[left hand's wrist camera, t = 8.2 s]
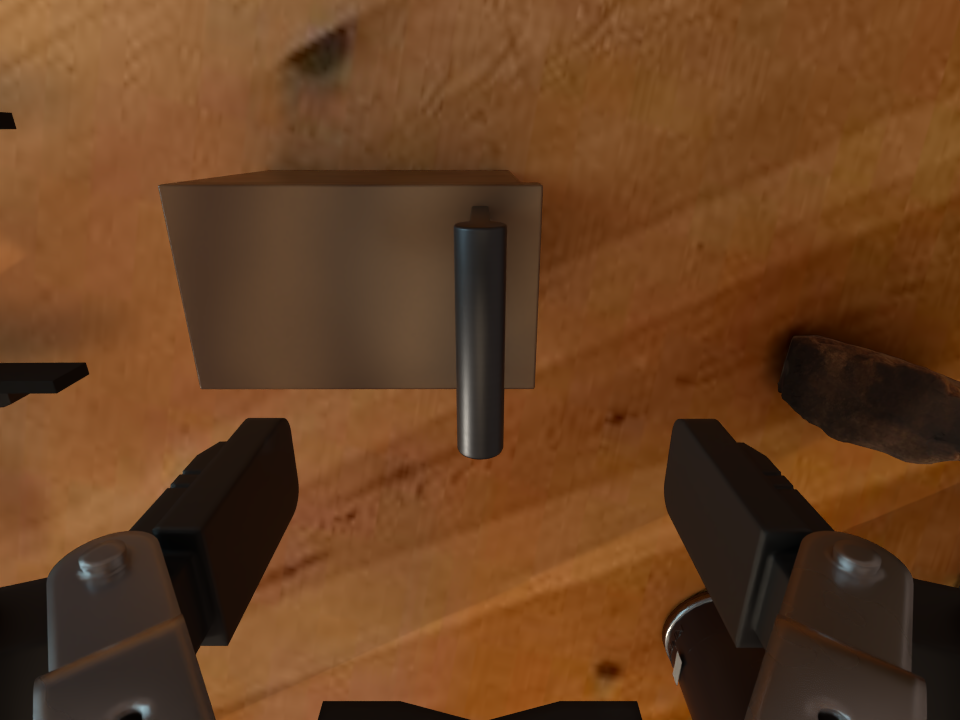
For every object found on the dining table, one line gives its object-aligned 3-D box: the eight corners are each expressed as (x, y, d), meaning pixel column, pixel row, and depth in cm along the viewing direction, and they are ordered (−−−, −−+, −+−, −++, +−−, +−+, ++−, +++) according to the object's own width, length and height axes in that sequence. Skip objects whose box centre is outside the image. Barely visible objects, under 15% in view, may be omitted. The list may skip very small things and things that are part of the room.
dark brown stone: (949, 354, 38) (1119, 430, 28) (904, 429, 40) (1046, 525, 30) (789, 315, 37) (906, 380, 27) (752, 394, 39) (846, 482, 29)
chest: (509, 170, 33) (522, 182, 23) (506, 312, 37) (516, 377, 26) (267, 170, 33) (174, 182, 23) (287, 312, 37) (213, 378, 26)
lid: (539, 182, 23) (571, 203, 15) (532, 378, 26) (554, 477, 19) (173, 182, 23) (16, 203, 15) (212, 378, 26) (100, 478, 19)
